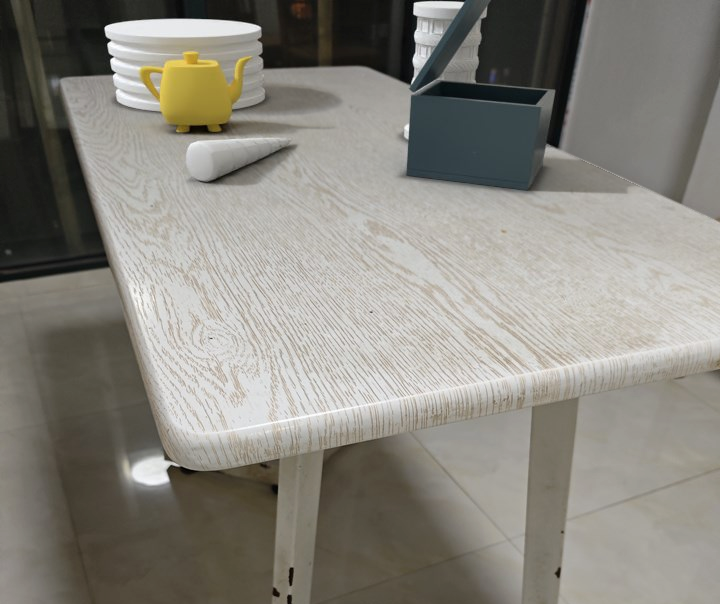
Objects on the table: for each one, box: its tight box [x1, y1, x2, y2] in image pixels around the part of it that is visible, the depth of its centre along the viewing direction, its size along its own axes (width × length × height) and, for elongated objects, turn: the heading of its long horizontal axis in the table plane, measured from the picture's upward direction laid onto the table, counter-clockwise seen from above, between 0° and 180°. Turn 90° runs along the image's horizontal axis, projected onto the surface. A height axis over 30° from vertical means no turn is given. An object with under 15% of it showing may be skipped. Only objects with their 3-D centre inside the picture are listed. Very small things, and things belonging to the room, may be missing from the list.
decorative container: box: [403, 0, 488, 140], centre depth 109 cm, size 12×12×18 cm
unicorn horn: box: [185, 137, 292, 183], centre depth 99 cm, size 5×24×5 cm, turn 151°
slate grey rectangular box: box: [405, 80, 556, 191], centre depth 97 cm, size 17×13×10 cm
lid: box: [408, 0, 492, 94], centre depth 89 cm, size 18×13×6 cm
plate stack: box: [104, 18, 266, 113], centre depth 132 cm, size 28×28×12 cm
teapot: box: [139, 51, 253, 133], centre depth 114 cm, size 18×11×11 cm, turn 101°
